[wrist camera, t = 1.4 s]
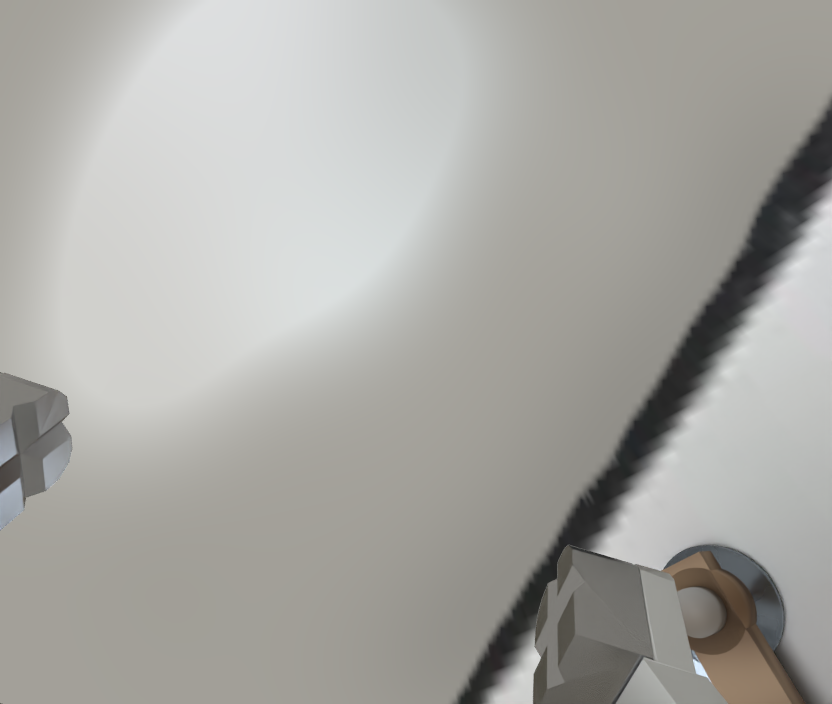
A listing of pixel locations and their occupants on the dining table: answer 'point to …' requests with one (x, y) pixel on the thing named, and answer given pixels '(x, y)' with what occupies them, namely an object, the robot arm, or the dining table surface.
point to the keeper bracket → (757, 584)
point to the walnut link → (729, 634)
